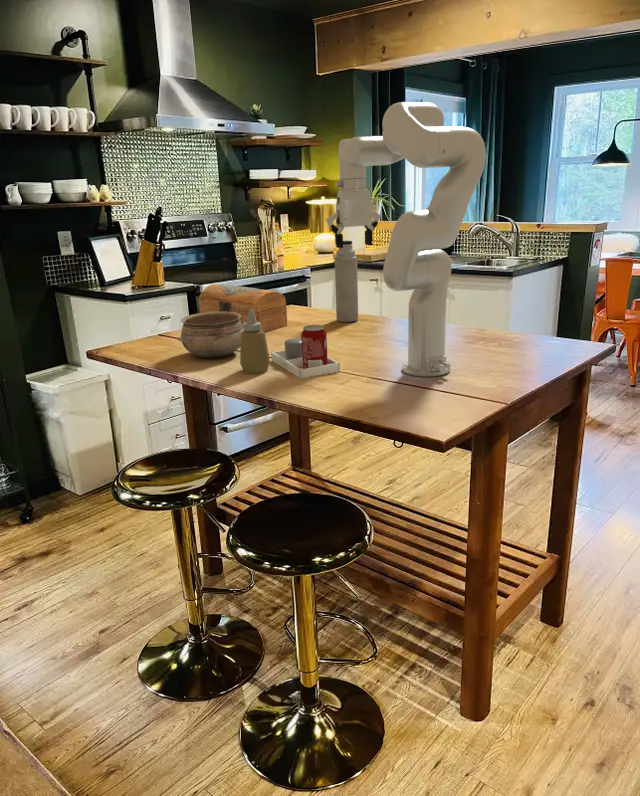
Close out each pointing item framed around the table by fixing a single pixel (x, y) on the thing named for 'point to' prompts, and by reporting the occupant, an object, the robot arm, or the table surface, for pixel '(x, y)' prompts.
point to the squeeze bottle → (253, 347)
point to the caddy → (300, 360)
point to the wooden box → (246, 304)
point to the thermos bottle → (346, 283)
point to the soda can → (314, 346)
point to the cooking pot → (212, 334)
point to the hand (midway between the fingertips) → (354, 246)
